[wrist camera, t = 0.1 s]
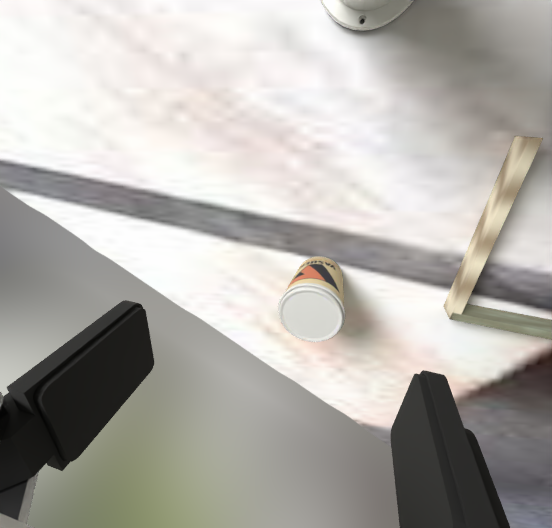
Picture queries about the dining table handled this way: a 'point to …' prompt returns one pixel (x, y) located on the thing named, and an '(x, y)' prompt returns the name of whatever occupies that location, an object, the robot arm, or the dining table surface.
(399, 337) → the dining table surface
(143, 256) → the dining table surface
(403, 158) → the dining table surface
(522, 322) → the bay
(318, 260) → the coffee cup
